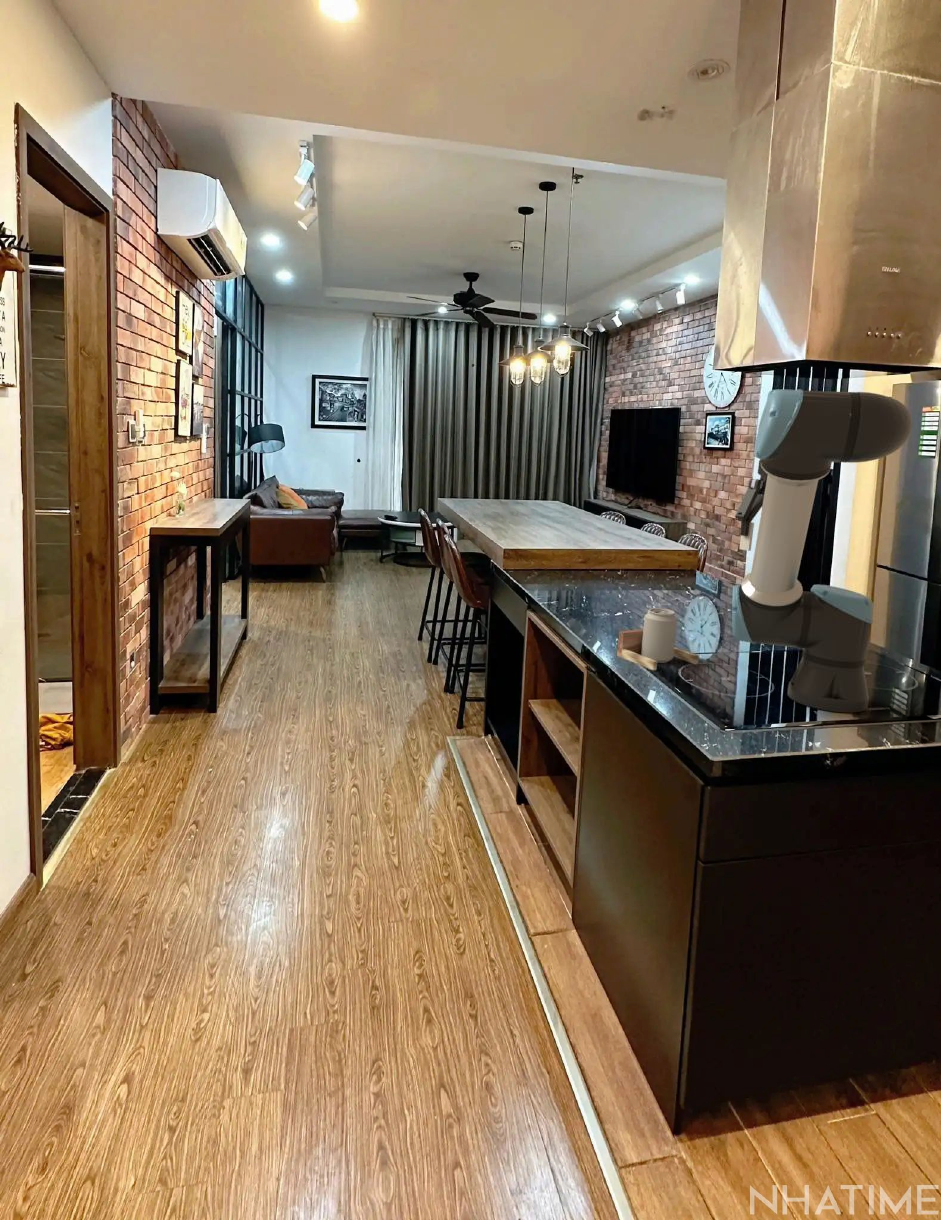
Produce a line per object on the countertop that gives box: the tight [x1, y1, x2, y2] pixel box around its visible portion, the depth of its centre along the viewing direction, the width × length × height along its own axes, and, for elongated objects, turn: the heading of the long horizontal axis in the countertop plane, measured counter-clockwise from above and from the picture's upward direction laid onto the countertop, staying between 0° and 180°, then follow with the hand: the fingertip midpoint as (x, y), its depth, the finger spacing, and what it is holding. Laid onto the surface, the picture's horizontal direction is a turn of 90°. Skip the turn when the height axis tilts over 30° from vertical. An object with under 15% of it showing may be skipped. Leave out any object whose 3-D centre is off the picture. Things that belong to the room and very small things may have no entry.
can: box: [641, 607, 678, 664], centre depth 182 cm, size 8×8×12 cm
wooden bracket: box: [616, 628, 700, 671], centre depth 182 cm, size 12×14×6 cm
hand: (764, 549), depth 184 cm, fingers open, 13 cm apart
